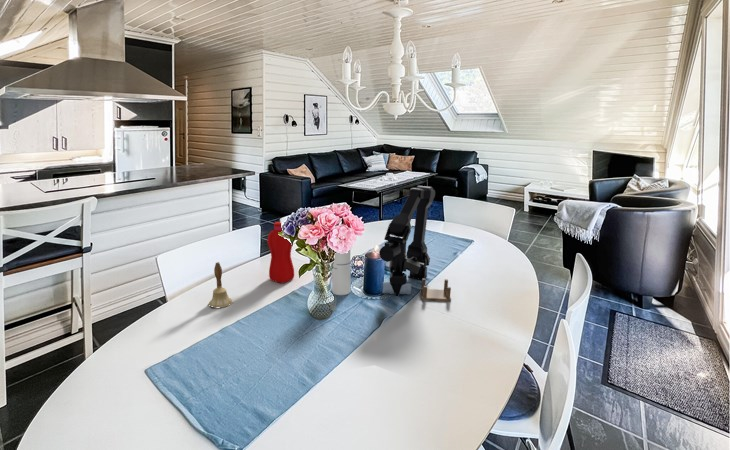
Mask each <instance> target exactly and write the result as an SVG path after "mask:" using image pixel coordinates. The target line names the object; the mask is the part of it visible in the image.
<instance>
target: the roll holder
mask: <svg viewBox="0 0 730 450" xmlns="http://www.w3.org/2000/svg"><path fill="white" fill-rule="evenodd" d="M426 280H427V279H426V278H424V279H423V278H422V280H421V288H420V297H421V300H422V301H429V302H431V301H432V302H451V301H452V298H451V290H452V287H451V286H449V280H448V279H444V282H443V283H444V284H443V289H437V288H436V289H435V288H434V289H433V288H431V289H430V288H428V286H427V285H426Z"/></svg>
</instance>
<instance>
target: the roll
mask: <svg viewBox="0 0 730 450" xmlns="http://www.w3.org/2000/svg"><path fill="white" fill-rule="evenodd" d="M383 292H384V293H383ZM382 293H383V294H385V293H391V294H390V295H392V294H394V295H395V293H394V291H393V289H392V286H391V284H390V281H387V282H385V281H382ZM411 294H412V283H411V282H410V283H409V282H407V283H406V284H404V285H402V287H401V290H400V293H399V295H411Z"/></svg>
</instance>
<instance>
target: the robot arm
mask: <svg viewBox="0 0 730 450" xmlns="http://www.w3.org/2000/svg"><path fill="white" fill-rule="evenodd" d="M435 197H436V190H435V189H434V187H432V186H425V185H424V186H423V185H417V186H416V187H411V188H410V189H409V191H408V196H407V198H406V200H405V202H404V204H403V206H402V208H401V211H400V212H399V214H397V215H396V216H394V217H393V218H392V220H391V221H390V222H389V224H388V227H387V229H386V232H385V236H384V241H386V242H384V245H383V246H382V247H380V249H379V252H378V255H379V257H380V258H381V260H382V261H384V262H385V263H386V262H389V266H388V267H389V272H390V273H389V282H390V284H391V286H392V289H393V291H394V293H395V294H394V296H395V297H399V296H400V294H399V293H400V290H401V287H402V285H404V284H406V283H408V282H407V280H408V278H410V279H415V280H420V281H422V278H423V279H426V277H427V276H428V266H430V262H431V258H430V256H429V254H428V247H427V244H426V242H425V239H426V238H425V237H426V230H427V220H428V214H429V213H428V212H429V208H430V207H431V205H432V204H433V202H434V199H435ZM415 212H416V213H415ZM414 215H415V221H414V231H413V237H412V238H413V239H412V242H411V243H410V244H408V246H407V241H408V240H409V236H410V234H411V232H412V231H411V230H412V229H411V228H412V224H411V221H412V218H413V216H414ZM407 271H409V274H408V276H407V274H406V273H405V272H407ZM407 277H408V278H407Z"/></svg>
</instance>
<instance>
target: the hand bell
mask: <svg viewBox="0 0 730 450" xmlns="http://www.w3.org/2000/svg"><path fill="white" fill-rule="evenodd" d="M213 270H214V276H215V279H216V288H214V289H213V291H212V297H211V300H209V302H208V306H209V305H210V306H213V307H224V308H226V307H225V306H227V307H229V306H230V305H229V304H231V303H232V304H233V299H232V298H231V297H229V295H228V292H227V289H226V288H225V287H223V286H222V285H223V283H222V275H223V270H222V266H221V263H220V262H219V261H217V262H215V265H214V269H213ZM232 304H231V305H232ZM228 305H229V306H228Z"/></svg>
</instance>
